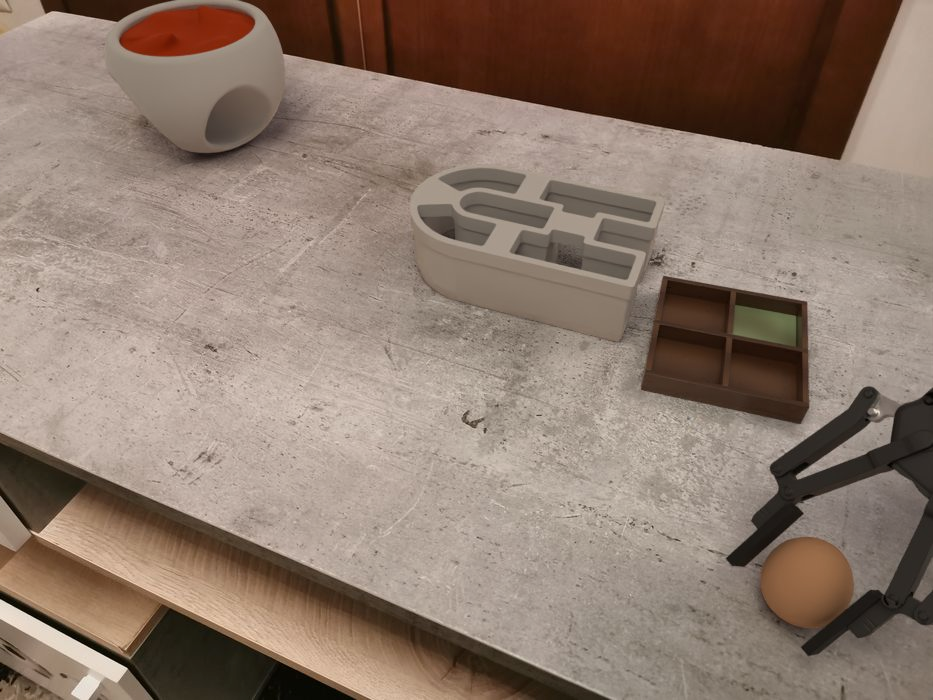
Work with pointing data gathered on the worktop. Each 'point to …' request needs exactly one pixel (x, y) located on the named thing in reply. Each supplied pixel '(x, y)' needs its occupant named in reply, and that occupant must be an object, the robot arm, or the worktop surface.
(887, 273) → the worktop surface
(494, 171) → the grey compartment organizer
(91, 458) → the worktop surface
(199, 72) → the pot
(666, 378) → the compartment tray
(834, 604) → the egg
